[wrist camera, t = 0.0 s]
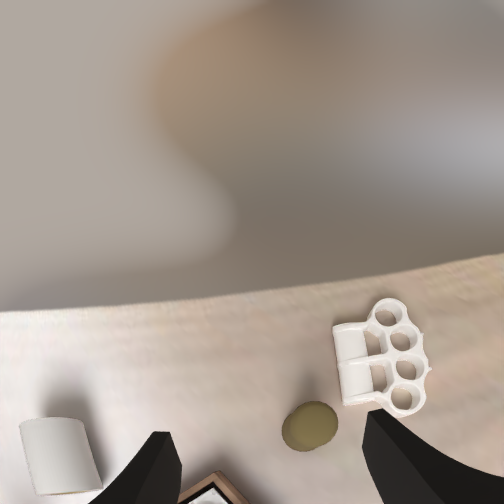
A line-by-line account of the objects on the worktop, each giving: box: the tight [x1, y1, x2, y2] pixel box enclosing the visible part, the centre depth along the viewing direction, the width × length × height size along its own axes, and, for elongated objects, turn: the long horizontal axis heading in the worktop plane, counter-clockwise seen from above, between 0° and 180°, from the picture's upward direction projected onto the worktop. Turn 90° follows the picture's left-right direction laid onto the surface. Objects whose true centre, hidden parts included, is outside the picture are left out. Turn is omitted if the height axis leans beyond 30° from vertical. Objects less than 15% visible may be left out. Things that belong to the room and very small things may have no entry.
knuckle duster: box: [332, 298, 433, 418], centre depth 41 cm, size 3×18×15 cm
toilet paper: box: [19, 417, 104, 496], centre depth 30 cm, size 10×10×10 cm
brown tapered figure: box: [282, 401, 338, 451], centre depth 33 cm, size 6×6×11 cm
